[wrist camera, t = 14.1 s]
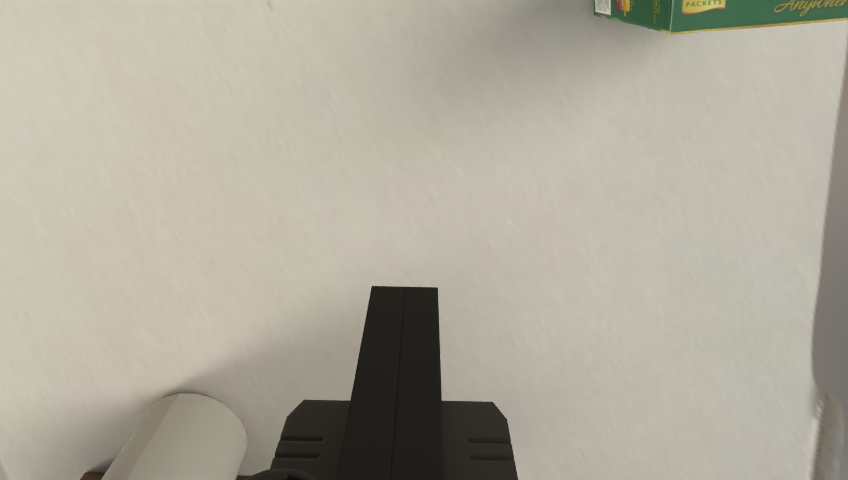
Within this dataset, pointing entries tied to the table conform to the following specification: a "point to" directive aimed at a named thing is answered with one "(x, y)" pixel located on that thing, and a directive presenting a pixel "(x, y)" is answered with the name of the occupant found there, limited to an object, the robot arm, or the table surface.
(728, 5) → the coffee box
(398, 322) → the robot arm
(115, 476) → the can
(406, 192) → the table surface
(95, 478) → the wooden box
